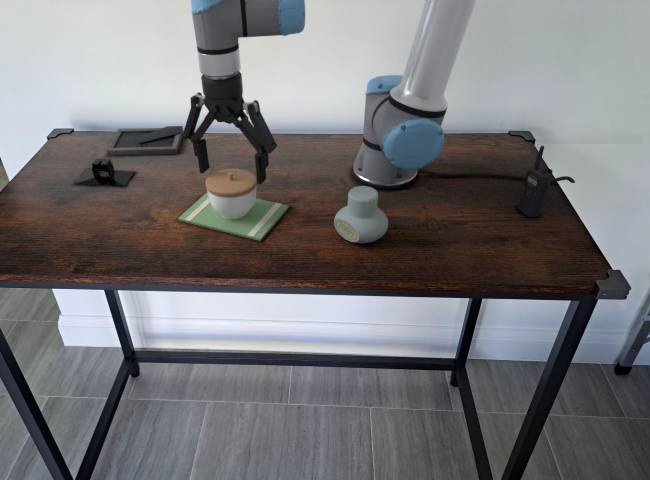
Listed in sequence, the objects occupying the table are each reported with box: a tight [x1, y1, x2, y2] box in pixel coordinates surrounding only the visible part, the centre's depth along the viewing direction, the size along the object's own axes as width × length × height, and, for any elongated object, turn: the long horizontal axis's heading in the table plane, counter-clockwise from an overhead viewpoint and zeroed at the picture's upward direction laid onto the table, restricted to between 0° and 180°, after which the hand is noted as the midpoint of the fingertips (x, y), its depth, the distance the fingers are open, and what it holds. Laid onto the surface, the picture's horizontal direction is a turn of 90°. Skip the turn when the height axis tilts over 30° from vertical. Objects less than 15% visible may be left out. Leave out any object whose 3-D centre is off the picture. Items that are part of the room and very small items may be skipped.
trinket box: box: [205, 168, 258, 219], centre depth 119 cm, size 11×11×9 cm
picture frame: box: [106, 125, 184, 157], centre depth 150 cm, size 13×2×18 cm
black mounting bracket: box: [75, 158, 135, 188], centre depth 135 cm, size 12×7×5 cm, turn 83°
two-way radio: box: [517, 145, 554, 218], centre depth 116 cm, size 6×4×15 cm
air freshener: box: [333, 185, 389, 244], centre depth 112 cm, size 11×8×10 cm
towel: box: [177, 192, 290, 242], centre depth 122 cm, size 20×14×1 cm
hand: (232, 175), depth 116 cm, fingers open, 13 cm apart
